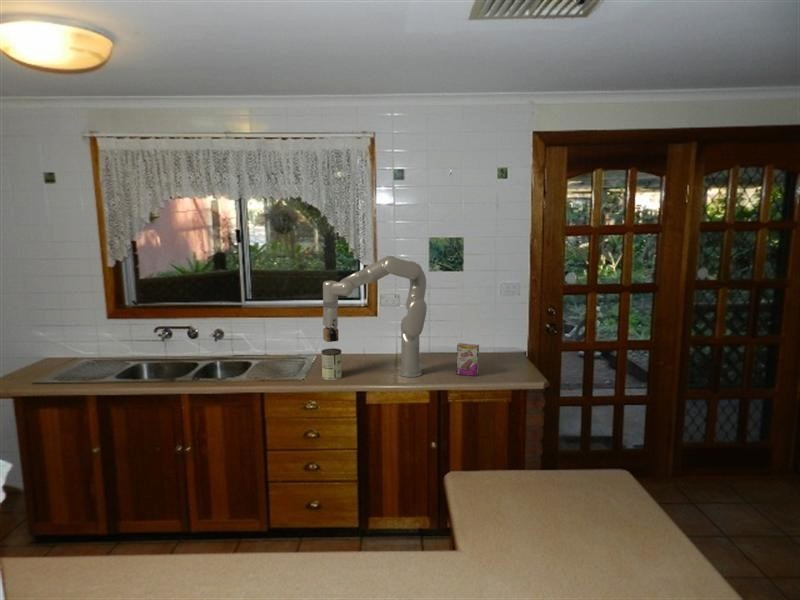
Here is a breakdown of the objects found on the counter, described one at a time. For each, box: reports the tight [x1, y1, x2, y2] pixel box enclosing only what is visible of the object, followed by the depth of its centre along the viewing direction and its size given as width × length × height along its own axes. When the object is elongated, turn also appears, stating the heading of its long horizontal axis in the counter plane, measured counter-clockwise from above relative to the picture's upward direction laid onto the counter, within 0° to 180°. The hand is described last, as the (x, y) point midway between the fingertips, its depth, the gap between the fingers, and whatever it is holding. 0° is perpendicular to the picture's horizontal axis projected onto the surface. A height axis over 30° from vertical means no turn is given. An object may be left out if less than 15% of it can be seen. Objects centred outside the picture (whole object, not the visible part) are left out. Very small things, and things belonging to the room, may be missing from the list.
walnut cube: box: [322, 327, 339, 343], centre depth 262 cm, size 6×6×6 cm
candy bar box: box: [455, 342, 480, 377], centre depth 270 cm, size 11×5×16 cm, turn 74°
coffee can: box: [321, 347, 343, 381], centre depth 265 cm, size 10×10×14 cm
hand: (330, 339), depth 263 cm, fingers closed on walnut cube, 6 cm apart
